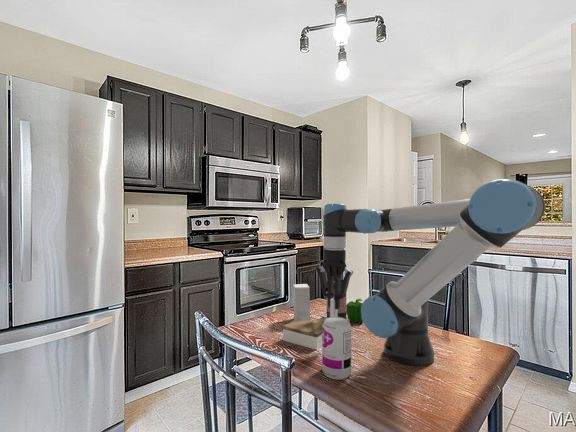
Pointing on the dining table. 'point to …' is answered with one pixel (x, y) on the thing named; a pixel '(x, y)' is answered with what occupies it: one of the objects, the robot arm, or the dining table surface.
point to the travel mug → (343, 306)
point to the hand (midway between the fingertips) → (333, 317)
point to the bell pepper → (354, 311)
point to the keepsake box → (302, 339)
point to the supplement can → (336, 348)
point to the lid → (306, 326)
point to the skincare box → (301, 301)
